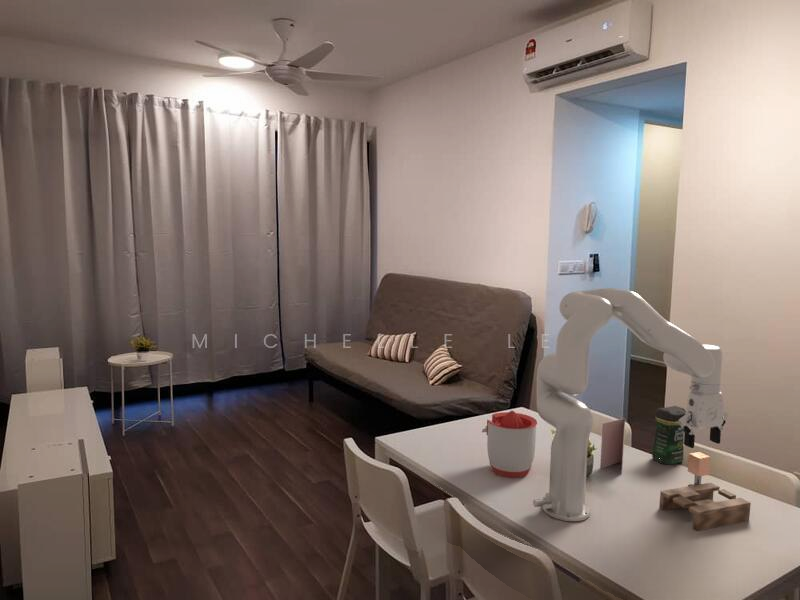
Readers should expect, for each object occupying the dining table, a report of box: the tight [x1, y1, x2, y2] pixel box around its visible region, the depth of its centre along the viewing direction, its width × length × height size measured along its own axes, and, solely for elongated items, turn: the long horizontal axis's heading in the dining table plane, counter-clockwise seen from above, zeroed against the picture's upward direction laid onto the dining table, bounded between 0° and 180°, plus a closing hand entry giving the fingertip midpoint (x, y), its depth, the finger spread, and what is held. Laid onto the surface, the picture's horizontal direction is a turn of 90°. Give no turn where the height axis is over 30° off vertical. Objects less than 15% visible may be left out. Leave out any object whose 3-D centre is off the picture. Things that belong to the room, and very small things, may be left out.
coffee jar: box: [651, 405, 686, 465], centre depth 196 cm, size 10×8×19 cm
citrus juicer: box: [481, 410, 538, 479], centre depth 186 cm, size 16×17×20 cm
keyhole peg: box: [687, 451, 711, 486], centre depth 172 cm, size 5×5×12 cm
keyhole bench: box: [658, 482, 752, 531], centre depth 159 cm, size 18×13×5 cm
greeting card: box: [599, 417, 626, 475], centre depth 190 cm, size 11×7×15 cm, turn 122°
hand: (702, 444), depth 171 cm, fingers open, 9 cm apart
